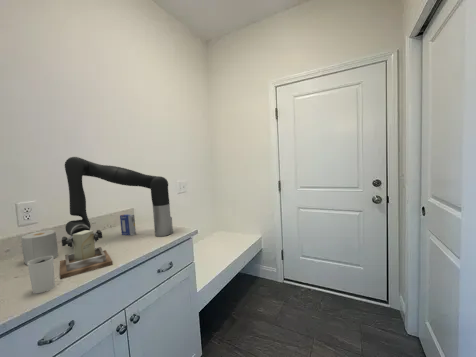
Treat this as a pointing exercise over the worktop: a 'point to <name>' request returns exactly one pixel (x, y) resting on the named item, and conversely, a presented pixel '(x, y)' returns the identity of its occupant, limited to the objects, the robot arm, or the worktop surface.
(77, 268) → the socket board
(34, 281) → the white coffee cup
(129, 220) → the walkman
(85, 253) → the skincare box
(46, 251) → the toilet paper roll
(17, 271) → the worktop surface
